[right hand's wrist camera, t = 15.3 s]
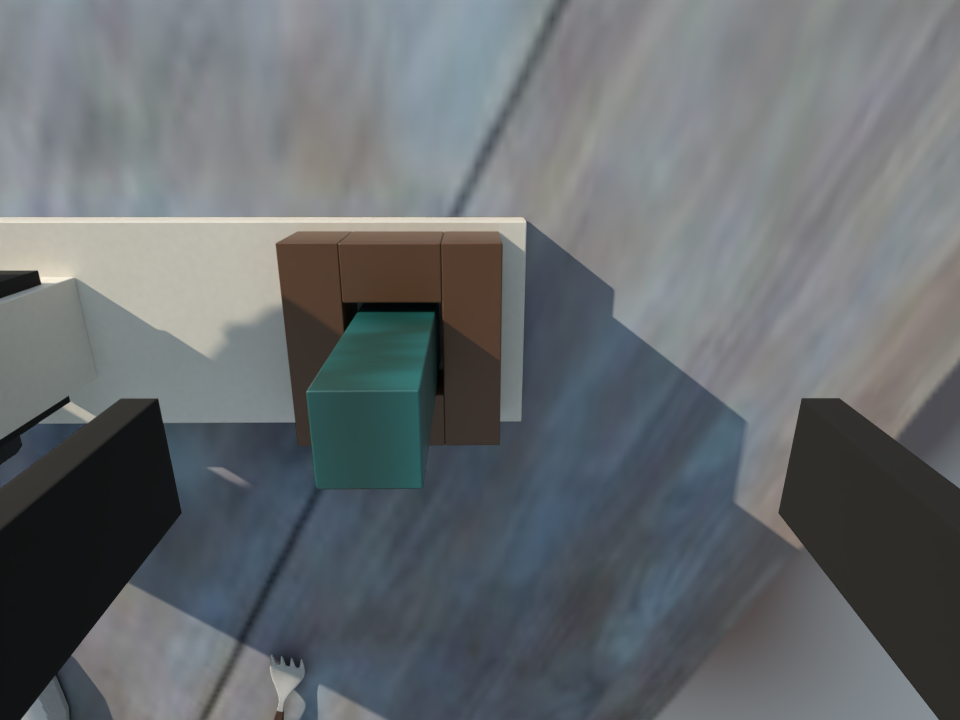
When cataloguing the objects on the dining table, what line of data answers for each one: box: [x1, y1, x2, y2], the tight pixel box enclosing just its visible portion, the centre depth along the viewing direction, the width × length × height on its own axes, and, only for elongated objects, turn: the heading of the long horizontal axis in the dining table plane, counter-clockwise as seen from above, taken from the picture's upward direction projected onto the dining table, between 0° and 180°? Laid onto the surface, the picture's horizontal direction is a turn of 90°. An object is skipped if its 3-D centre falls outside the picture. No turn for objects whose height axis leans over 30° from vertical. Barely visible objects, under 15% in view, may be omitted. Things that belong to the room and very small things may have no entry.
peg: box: [306, 303, 440, 489], centre depth 29 cm, size 4×4×14 cm
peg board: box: [0, 217, 527, 446], centre depth 30 cm, size 30×12×14 cm, turn 90°
